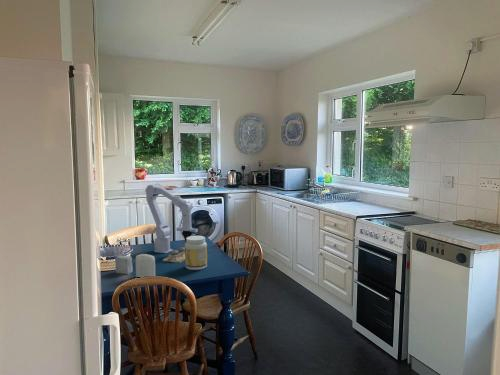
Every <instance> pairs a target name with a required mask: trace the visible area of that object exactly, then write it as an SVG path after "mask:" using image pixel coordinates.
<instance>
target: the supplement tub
mask: <svg viewBox="0 0 500 375" xmlns="http://www.w3.org/2000/svg"><path fill="white" fill-rule="evenodd" d="M207 246H208V244H207V242H206V237H205V236H204V235H191V236H190V237H187V238H186V244H185V245H184V247H185V266H184V267H185V269H187V270H191V271H200V270H203V269H205V268H207V266H208V247H207Z"/></svg>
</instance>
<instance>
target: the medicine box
mask: <svg viewBox="0 0 500 375" xmlns="http://www.w3.org/2000/svg"><path fill="white" fill-rule="evenodd" d="M132 257H133V256H130V255H129V256H128V255H118V256H116V257H115V258H114V260H115V261H114V263H115V273H116V274H123V275H129V274H131V273H133V270H134V269H133V258H132Z"/></svg>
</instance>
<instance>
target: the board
mask: <svg viewBox="0 0 500 375" xmlns="http://www.w3.org/2000/svg"><path fill="white" fill-rule="evenodd" d="M184 248H185V246H184ZM184 261H185V251H183V252H179V253H178V254H177V255H173V254H171V253H170V254H167V257H165V258H163V259H162V262H171V263H179V264H181V263H182V262H184Z"/></svg>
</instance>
